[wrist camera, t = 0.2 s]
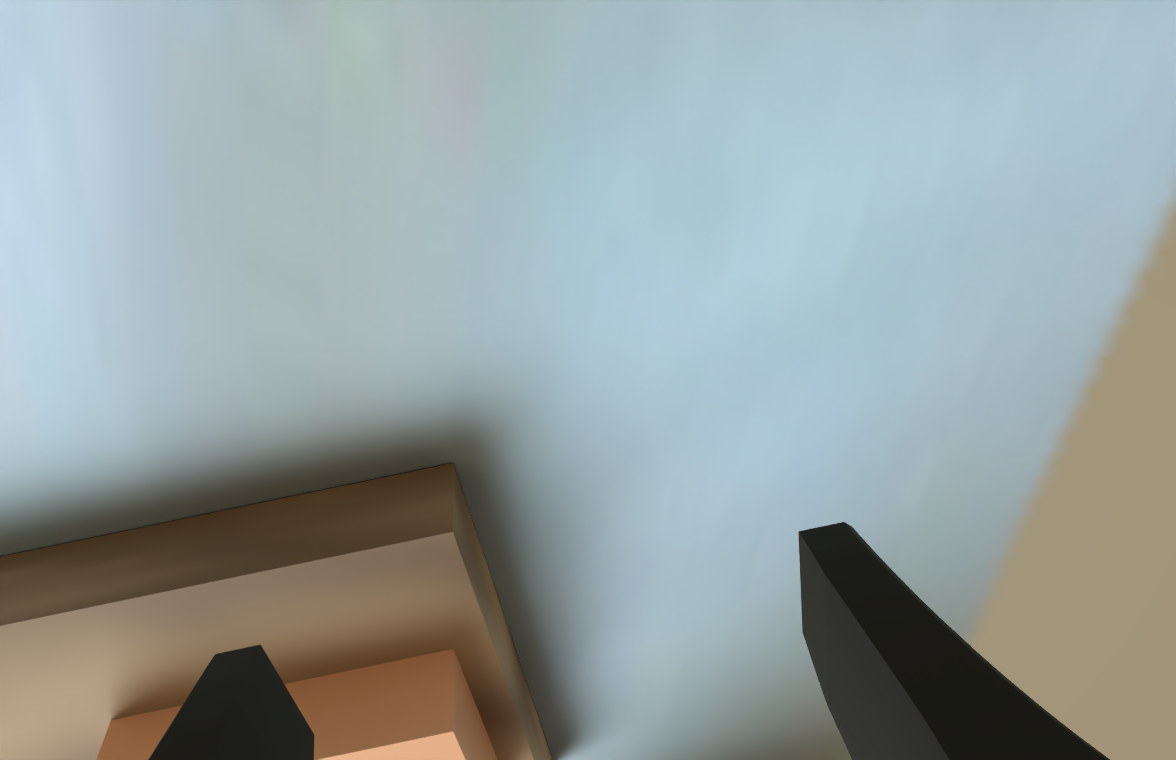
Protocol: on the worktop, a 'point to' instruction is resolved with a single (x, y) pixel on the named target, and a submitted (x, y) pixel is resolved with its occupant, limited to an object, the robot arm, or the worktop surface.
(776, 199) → the worktop surface
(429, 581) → the brown wooden flat slab
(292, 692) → the tile
